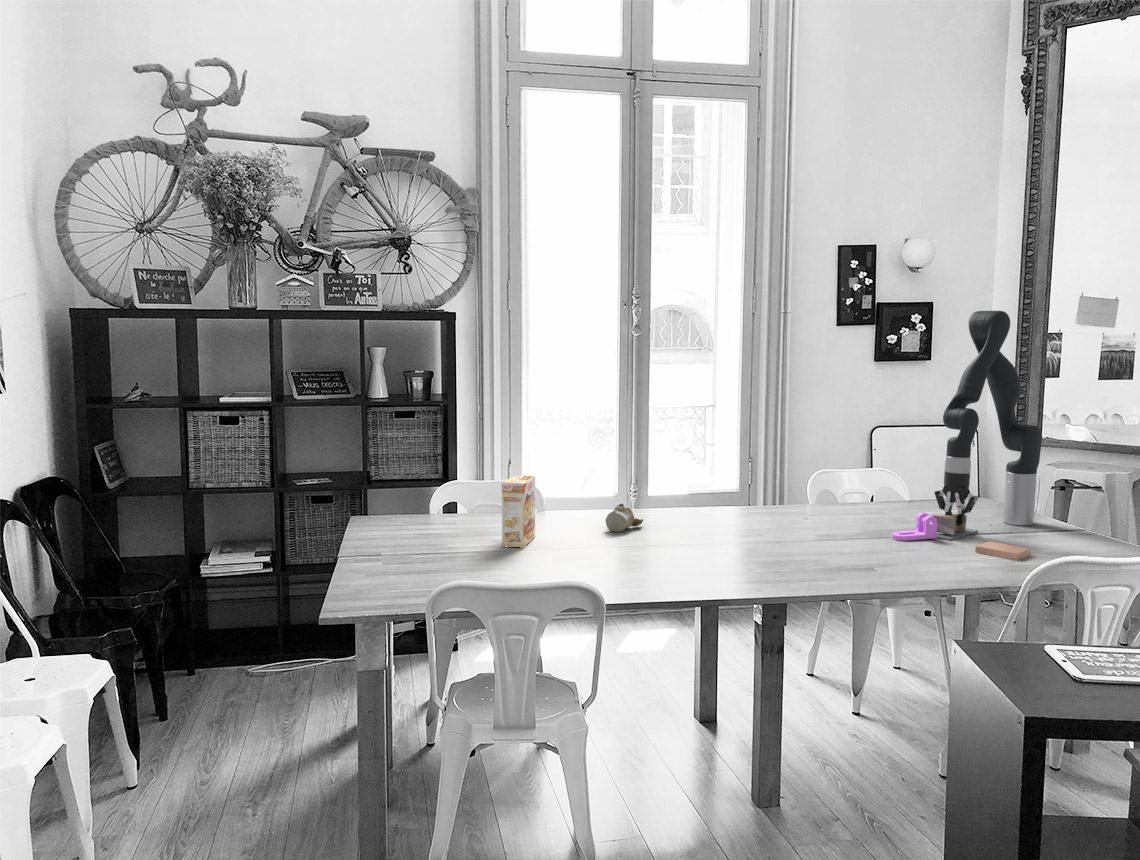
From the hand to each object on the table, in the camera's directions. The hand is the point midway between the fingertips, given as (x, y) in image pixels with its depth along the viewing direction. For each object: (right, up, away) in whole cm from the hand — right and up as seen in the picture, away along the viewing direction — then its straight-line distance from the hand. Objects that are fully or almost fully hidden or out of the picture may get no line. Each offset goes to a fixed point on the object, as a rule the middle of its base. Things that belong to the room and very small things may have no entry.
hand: (954, 524), depth 298 cm
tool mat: (-1, -3, 0) cm, 3 cm away
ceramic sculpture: (-105, -2, +6) cm, 105 cm away
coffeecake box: (-137, -4, -13) cm, 138 cm away
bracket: (-15, -4, -6) cm, 17 cm away
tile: (+7, -5, -22) cm, 24 cm away
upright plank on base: (-1, -2, -1) cm, 2 cm away
